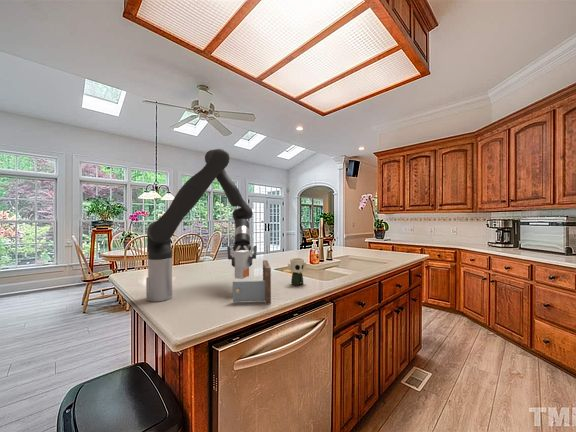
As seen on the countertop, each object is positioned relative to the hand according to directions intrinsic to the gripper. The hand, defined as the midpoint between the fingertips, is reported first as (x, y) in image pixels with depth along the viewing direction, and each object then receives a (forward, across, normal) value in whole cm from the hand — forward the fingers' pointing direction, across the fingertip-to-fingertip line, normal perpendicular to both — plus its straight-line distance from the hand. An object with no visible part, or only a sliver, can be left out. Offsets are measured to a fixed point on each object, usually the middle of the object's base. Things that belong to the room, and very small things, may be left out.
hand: (242, 265), depth 116 cm
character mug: (+1, +28, +18) cm, 33 cm away
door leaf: (+17, +3, 0) cm, 18 cm away
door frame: (+13, +11, +5) cm, 17 cm away
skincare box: (+3, 0, +5) cm, 6 cm away
